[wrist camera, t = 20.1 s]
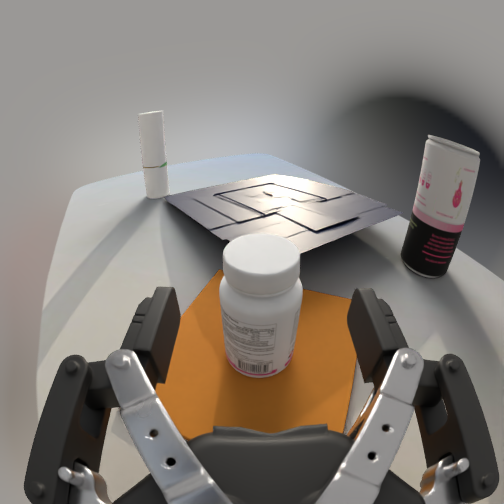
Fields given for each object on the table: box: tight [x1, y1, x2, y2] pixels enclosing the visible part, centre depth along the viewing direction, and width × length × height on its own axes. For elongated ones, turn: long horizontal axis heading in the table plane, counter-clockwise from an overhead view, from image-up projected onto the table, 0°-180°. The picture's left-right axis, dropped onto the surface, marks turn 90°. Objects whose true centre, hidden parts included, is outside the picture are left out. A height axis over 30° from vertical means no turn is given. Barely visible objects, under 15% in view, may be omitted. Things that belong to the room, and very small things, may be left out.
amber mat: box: [155, 269, 357, 440], centre depth 19 cm, size 16×14×1 cm
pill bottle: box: [219, 233, 303, 378], centre depth 16 cm, size 5×5×8 cm
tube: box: [138, 111, 170, 199], centre depth 43 cm, size 4×4×15 cm
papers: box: [164, 174, 403, 254], centre depth 39 cm, size 24×30×4 cm
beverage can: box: [401, 135, 480, 278], centre depth 25 cm, size 7×6×15 cm
